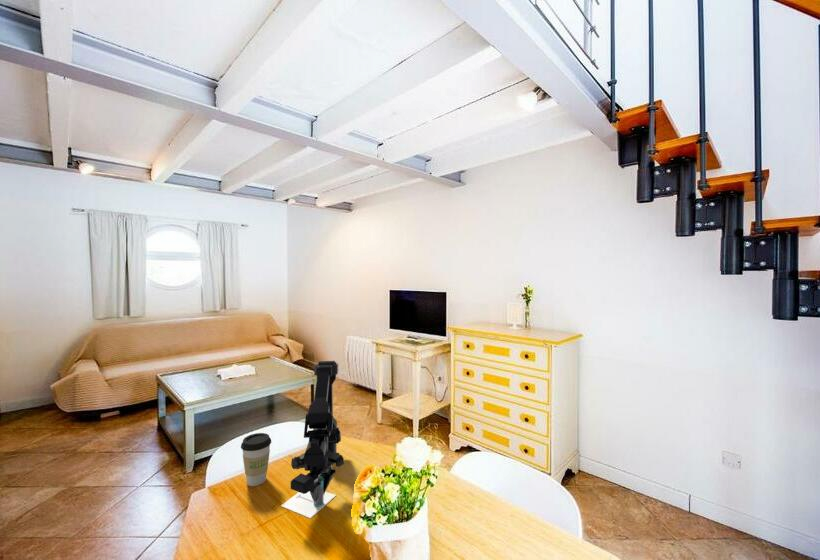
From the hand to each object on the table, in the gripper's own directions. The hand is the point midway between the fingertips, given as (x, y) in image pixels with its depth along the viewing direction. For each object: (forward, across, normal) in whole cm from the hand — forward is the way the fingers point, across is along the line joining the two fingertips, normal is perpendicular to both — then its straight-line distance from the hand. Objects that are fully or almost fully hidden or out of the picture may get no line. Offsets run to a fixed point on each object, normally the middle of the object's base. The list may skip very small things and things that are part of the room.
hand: (318, 497), depth 112 cm
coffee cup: (+2, 0, -28) cm, 28 cm away
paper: (+2, 0, -4) cm, 5 cm away
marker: (+2, 0, 0) cm, 2 cm away
